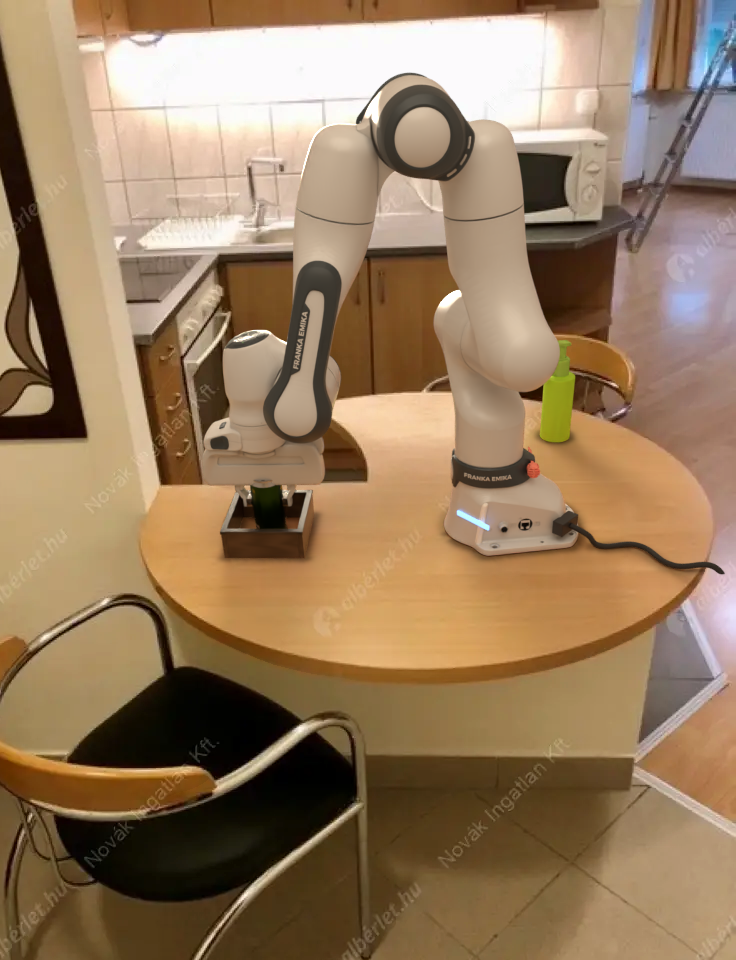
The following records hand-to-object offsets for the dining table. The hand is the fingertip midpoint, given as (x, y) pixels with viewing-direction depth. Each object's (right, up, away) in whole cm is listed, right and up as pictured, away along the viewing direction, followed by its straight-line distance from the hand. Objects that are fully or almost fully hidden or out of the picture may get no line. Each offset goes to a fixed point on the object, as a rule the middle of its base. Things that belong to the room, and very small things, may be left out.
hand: (268, 504), depth 145 cm
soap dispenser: (+56, +15, +29) cm, 64 cm away
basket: (0, -5, +3) cm, 6 cm away
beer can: (0, -5, +3) cm, 6 cm away
